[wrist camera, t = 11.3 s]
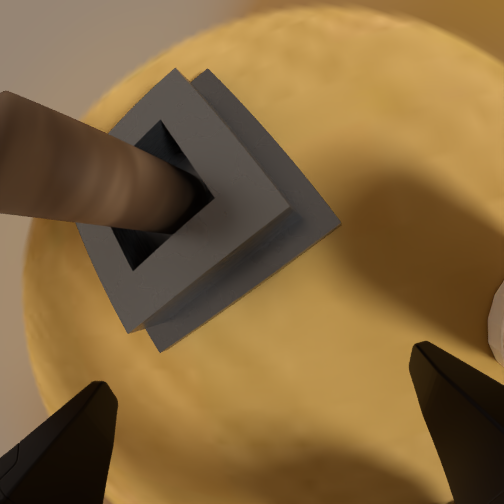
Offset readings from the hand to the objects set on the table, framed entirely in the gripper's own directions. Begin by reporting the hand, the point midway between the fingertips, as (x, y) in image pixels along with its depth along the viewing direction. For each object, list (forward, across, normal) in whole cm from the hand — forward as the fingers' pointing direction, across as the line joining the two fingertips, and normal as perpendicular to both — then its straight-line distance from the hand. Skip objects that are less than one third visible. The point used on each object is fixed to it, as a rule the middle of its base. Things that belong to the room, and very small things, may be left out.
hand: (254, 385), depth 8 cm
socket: (+14, +4, -2) cm, 14 cm away
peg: (+13, +4, -2) cm, 14 cm away
